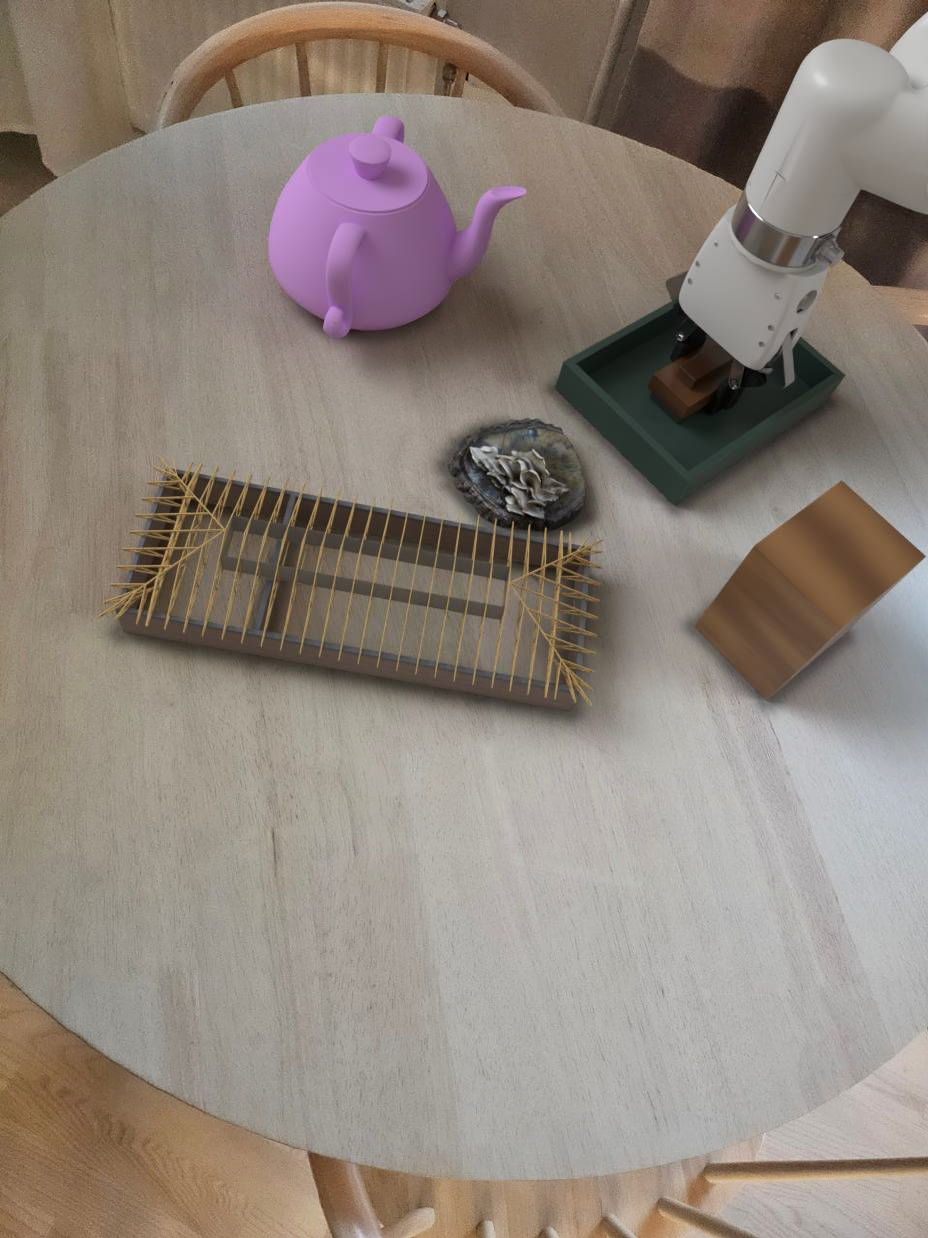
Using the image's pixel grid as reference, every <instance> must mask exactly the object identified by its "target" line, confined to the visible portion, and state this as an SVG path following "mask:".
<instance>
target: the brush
mask: <svg viewBox="0 0 928 1238" xmlns="http://www.w3.org/2000/svg"><path fill="white" fill-rule="evenodd" d="M733 358H734V357H733V356H732V355H731V354H730V353H728V352H727V351H726V350H725V349H724V348H723V347H722V346H720V345H719V344H718V343H717V342H716V341H715V340H714V339H712V340H710V341H708V342H707V343H705V344H704V345H702V346H700V347H698V348H697V349H695V350H693V351H692V352H690V353H688V354H687V355H685V356H683V357H681V358H679V359H678V360H676V361H674V362H673V363H671V364H669V365H668V366H666V367H664V368H662V369H661V370H659V371H657V372H656V373H654V374H653V376H652V379H651V381H650V383H649V385H648V388H649V389H650V390H651V391H652V392H651V395H650V398H651V399H652V400H653V401H654V402H655V403H656V404H657V405H658V406H659V407H660V408H661V409H662V410H663V411H664V412H665V413H666V414H667V415H669V416H670V417H671V418H672V419H673V420H674V421H675V422H676V423H677V424H680V423H681V422H683V421H684V420H686V419H688V418H689V417H691V416H692V415H694V414H696V413H697V412H699V411H700V410H702V409H703V408H705V407H707V406H708V404H709V403H710V401H711V400H712V398H713V396H714V394H715V392H716V390H717V388H718V386H719V384H720V383H721V382H722V381H723V380H724V379H726V378H728V377H729V375H730V371H731V367H732V362H733Z"/></svg>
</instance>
